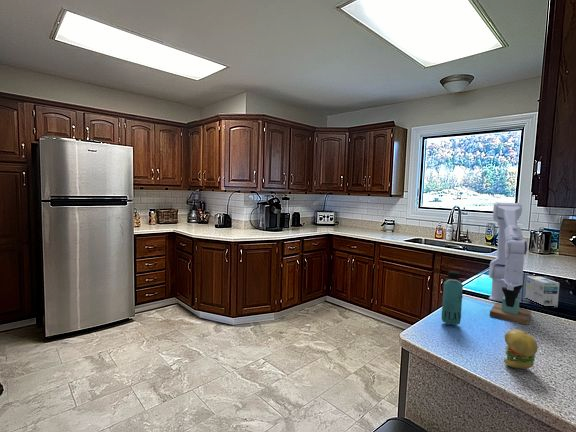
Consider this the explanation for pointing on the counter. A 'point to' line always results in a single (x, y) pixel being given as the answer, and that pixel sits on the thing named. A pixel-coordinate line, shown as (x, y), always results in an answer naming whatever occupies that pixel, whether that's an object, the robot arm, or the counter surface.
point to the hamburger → (520, 349)
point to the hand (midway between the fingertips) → (511, 303)
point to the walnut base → (510, 314)
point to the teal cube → (510, 309)
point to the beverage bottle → (452, 299)
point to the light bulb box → (542, 290)
